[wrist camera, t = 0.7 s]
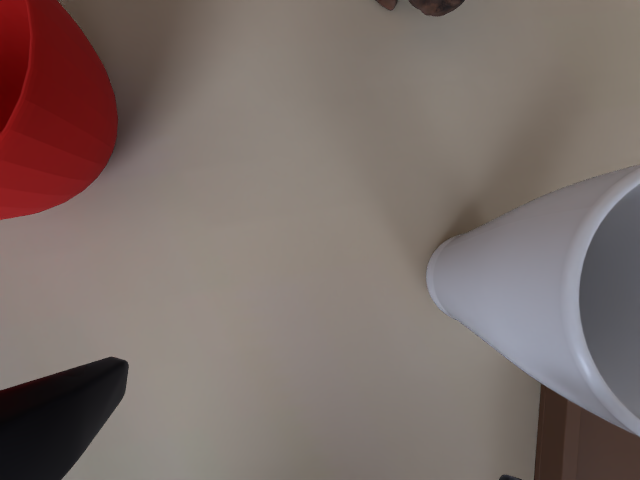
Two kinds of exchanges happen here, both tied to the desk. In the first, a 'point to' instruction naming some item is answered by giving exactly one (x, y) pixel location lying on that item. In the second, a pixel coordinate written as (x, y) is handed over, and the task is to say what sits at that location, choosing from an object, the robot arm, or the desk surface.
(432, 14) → the pottery mug
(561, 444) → the tray
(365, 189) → the desk surface
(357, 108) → the desk surface
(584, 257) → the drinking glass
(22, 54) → the ceramic cup
